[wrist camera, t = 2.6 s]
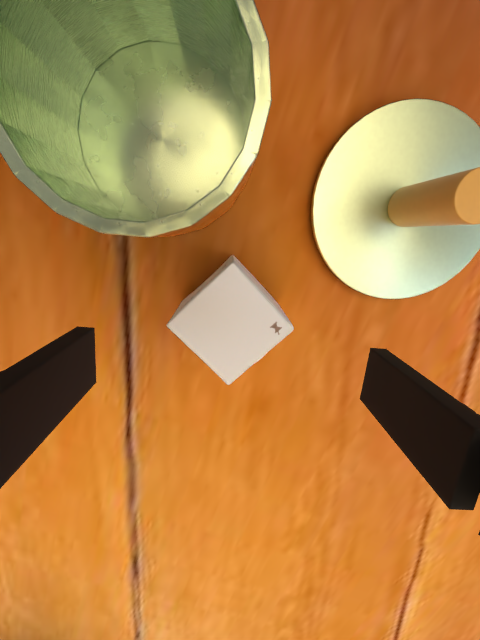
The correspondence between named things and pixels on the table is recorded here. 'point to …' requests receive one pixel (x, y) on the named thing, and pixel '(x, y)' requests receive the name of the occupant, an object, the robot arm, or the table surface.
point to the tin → (133, 108)
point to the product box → (230, 321)
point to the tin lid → (400, 199)
